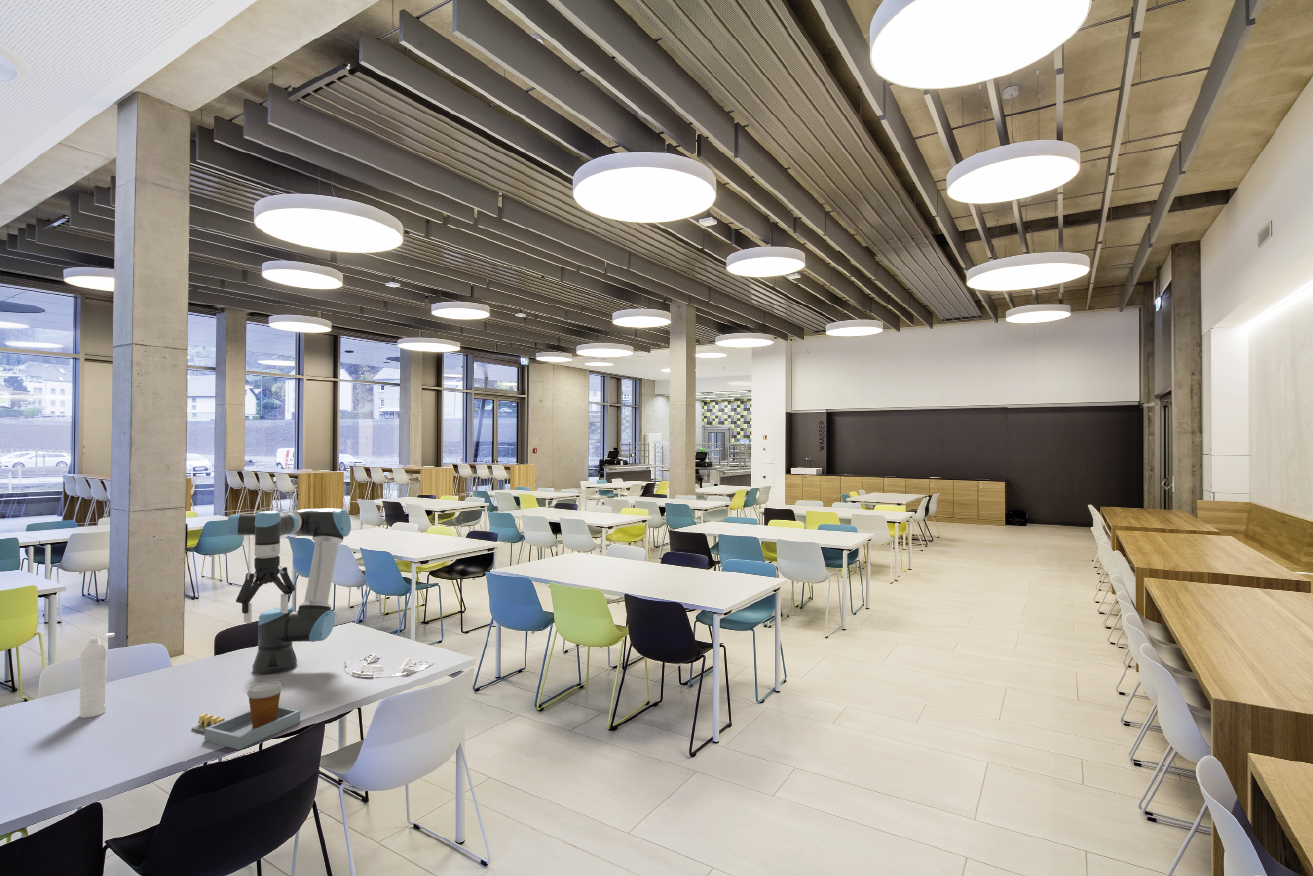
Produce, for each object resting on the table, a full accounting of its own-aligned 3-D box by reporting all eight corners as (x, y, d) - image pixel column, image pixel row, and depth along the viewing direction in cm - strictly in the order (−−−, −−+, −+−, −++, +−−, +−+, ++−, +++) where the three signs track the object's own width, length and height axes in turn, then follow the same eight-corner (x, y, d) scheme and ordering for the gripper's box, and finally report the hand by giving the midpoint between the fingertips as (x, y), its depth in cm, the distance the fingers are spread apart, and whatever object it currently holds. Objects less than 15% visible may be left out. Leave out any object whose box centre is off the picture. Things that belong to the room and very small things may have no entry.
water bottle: (85, 719, 204) (87, 641, 204) (75, 715, 207) (76, 638, 207) (118, 709, 212) (119, 634, 212) (107, 706, 215) (109, 631, 215)
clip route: (190, 730, 197) (190, 718, 197) (210, 722, 203) (210, 710, 203) (214, 736, 193) (214, 723, 193) (234, 728, 199) (234, 716, 199)
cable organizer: (438, 663, 261) (438, 654, 261) (399, 684, 238) (399, 674, 238) (367, 654, 271) (367, 646, 271) (323, 673, 248) (323, 665, 248)
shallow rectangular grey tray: (204, 740, 190) (204, 728, 190) (266, 714, 209) (267, 703, 209) (239, 749, 185) (239, 737, 185) (300, 722, 204) (300, 710, 204)
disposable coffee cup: (256, 734, 194) (257, 694, 194) (240, 726, 199) (240, 688, 199) (288, 722, 202) (288, 684, 202) (271, 715, 207) (272, 678, 207)
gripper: (239, 563, 208) (238, 628, 208) (306, 551, 232) (305, 609, 231) (224, 561, 211) (223, 625, 211) (291, 550, 234) (290, 607, 234)
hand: (266, 617), depth 221 cm, fingers open, 13 cm apart
